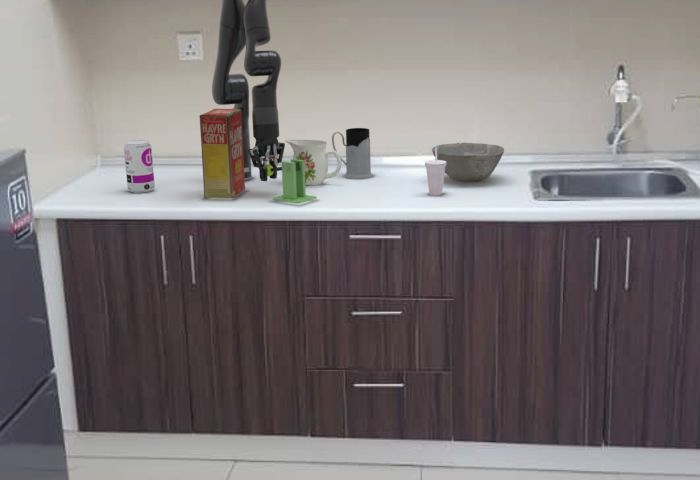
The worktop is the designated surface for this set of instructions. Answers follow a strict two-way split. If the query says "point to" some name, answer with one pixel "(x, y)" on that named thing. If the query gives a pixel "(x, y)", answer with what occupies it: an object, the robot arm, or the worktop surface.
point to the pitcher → (314, 159)
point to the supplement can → (139, 166)
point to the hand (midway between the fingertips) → (268, 179)
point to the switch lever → (279, 169)
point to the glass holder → (356, 153)
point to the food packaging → (222, 153)
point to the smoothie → (435, 175)
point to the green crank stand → (293, 183)
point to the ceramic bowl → (469, 160)
